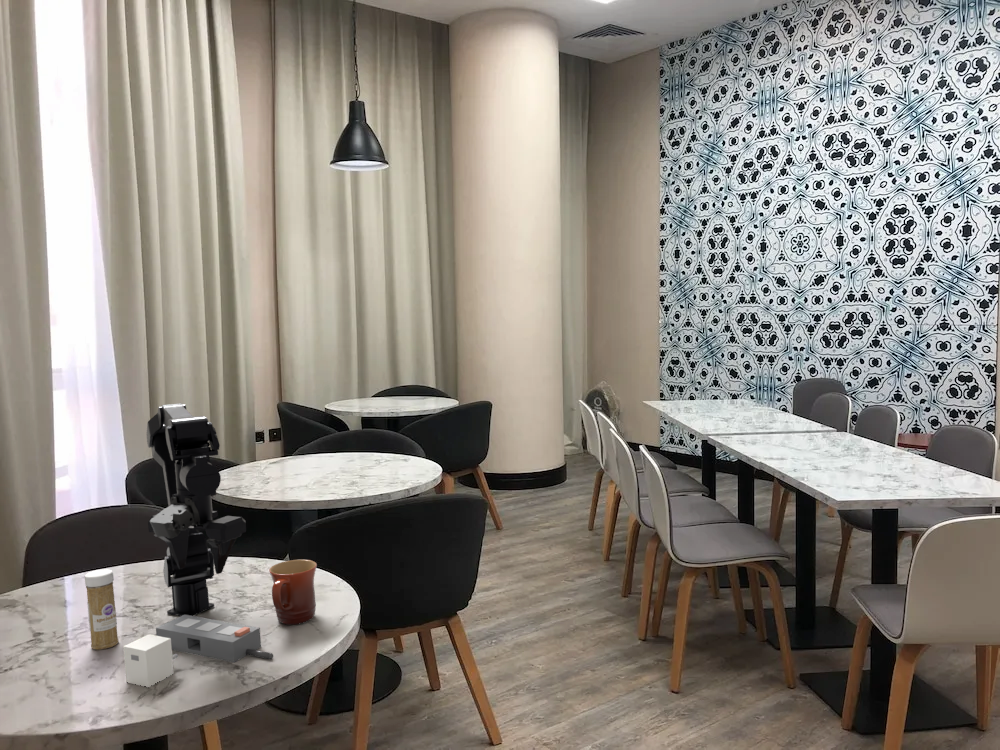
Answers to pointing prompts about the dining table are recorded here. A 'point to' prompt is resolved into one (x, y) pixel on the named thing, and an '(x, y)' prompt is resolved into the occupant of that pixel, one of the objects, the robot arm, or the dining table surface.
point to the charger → (148, 660)
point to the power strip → (213, 638)
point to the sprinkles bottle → (101, 609)
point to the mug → (294, 591)
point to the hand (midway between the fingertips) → (200, 570)
